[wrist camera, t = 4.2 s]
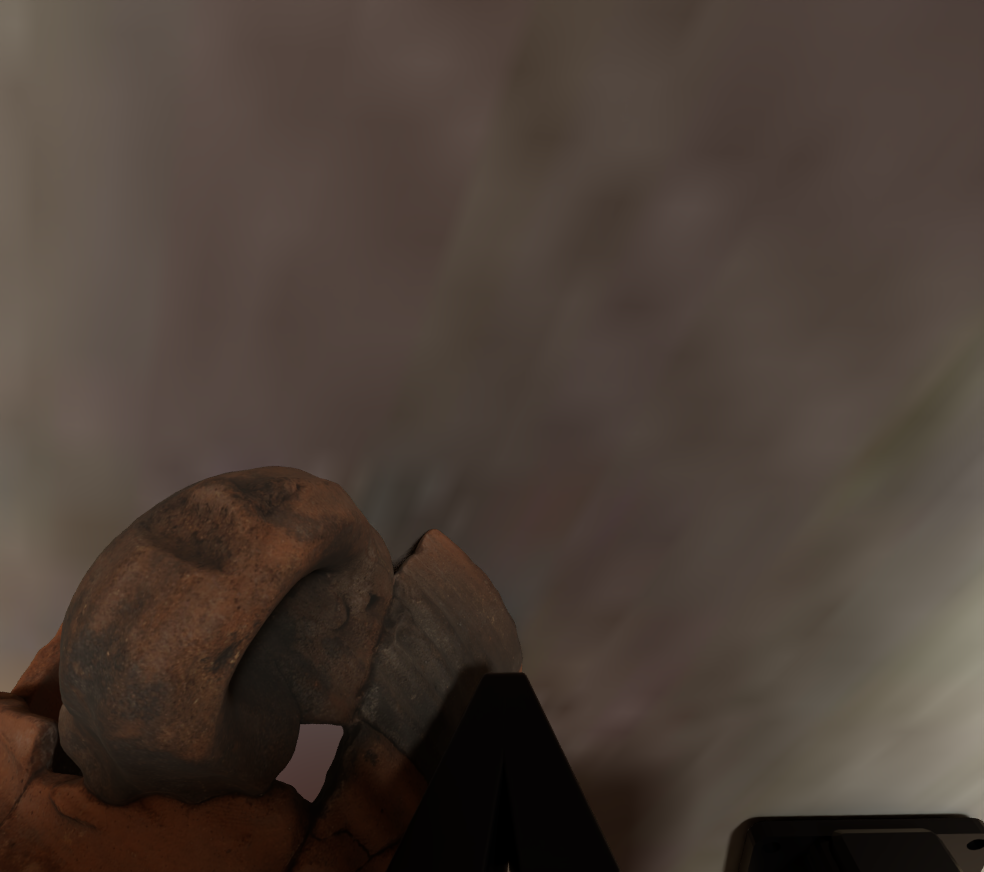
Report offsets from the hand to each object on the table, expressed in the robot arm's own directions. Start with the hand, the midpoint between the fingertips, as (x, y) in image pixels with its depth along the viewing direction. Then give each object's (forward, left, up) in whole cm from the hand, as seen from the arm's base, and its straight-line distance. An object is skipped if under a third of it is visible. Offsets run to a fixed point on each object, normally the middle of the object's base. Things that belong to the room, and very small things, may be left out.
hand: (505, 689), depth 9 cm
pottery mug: (-1, +5, -3) cm, 6 cm away
